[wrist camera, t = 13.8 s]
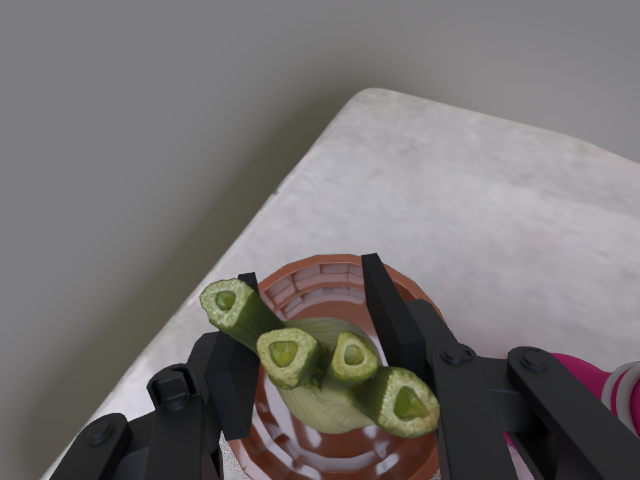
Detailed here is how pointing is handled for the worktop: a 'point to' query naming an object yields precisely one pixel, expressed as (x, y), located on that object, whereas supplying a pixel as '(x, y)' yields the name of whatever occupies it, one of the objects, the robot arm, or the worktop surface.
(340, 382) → the fennel bulb
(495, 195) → the worktop surface
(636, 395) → the pepper mill
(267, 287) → the bowl
